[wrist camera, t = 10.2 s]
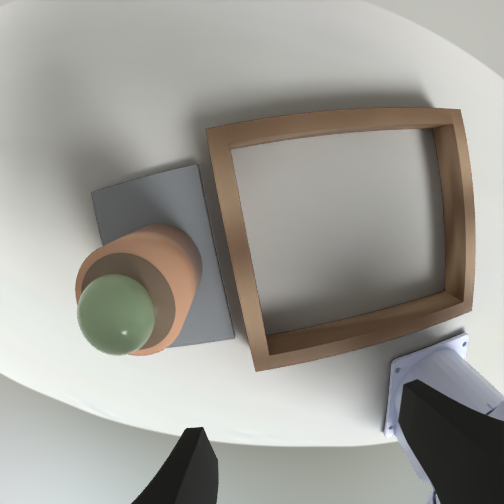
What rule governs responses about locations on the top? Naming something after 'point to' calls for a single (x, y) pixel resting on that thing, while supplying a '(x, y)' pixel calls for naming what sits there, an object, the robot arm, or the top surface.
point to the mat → (184, 218)
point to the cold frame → (375, 323)
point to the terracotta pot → (138, 290)
